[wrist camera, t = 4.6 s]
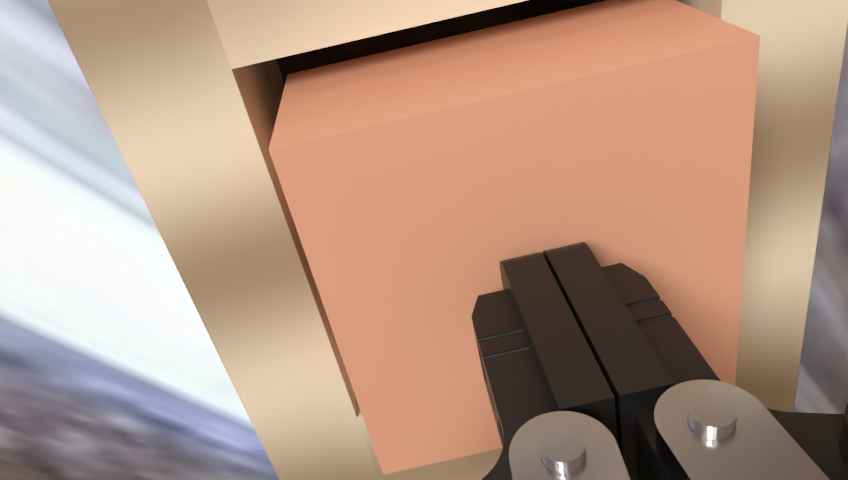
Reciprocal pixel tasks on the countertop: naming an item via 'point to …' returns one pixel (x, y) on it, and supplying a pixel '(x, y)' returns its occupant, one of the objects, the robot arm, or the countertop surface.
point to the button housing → (276, 232)
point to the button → (515, 193)
